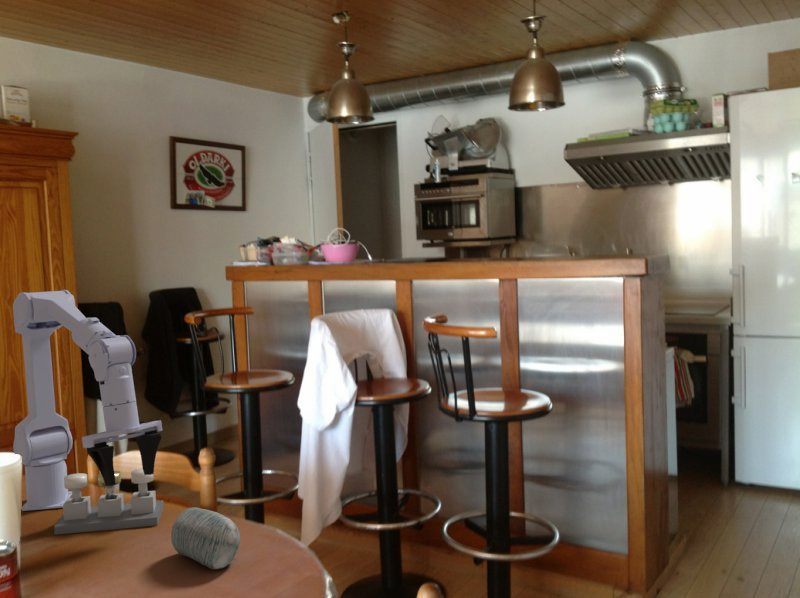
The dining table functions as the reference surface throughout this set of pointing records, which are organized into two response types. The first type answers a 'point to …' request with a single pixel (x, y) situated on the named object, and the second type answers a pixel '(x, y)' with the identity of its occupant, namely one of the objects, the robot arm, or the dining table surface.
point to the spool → (205, 537)
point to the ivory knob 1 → (75, 485)
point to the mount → (109, 514)
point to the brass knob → (109, 489)
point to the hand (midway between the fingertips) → (130, 479)
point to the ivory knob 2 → (141, 481)
